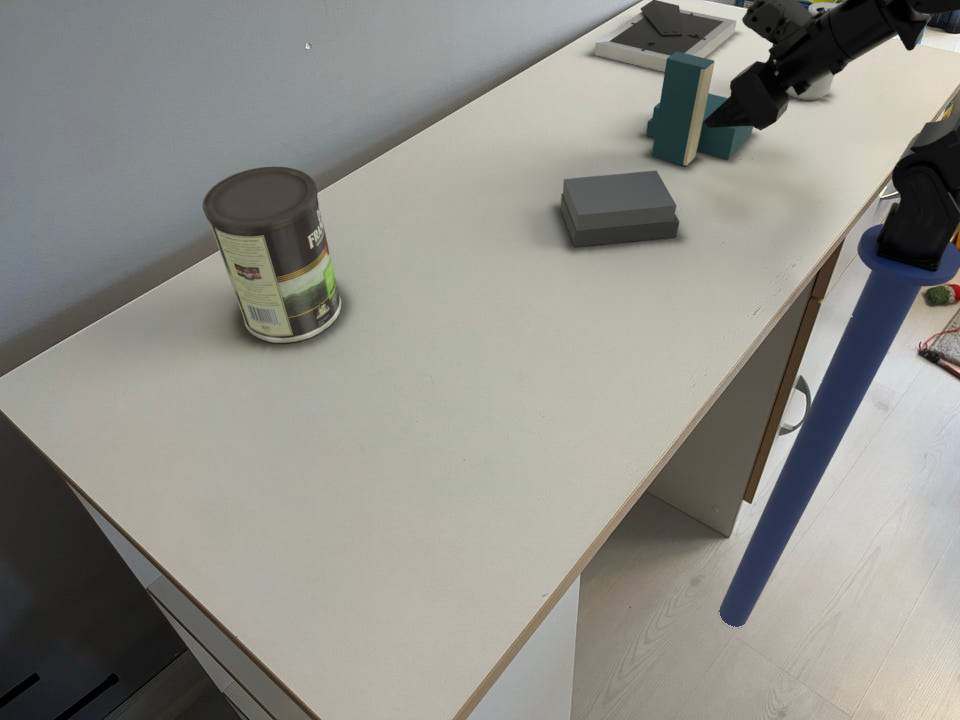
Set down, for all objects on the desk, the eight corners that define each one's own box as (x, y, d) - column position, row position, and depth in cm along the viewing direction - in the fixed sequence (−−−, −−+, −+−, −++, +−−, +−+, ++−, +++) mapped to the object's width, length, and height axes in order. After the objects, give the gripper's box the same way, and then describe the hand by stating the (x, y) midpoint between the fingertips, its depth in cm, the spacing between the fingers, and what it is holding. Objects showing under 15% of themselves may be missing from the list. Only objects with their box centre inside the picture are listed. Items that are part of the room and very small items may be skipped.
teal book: (695, 158, 95) (715, 60, 86) (686, 167, 93) (705, 68, 84) (660, 147, 97) (676, 50, 88) (651, 156, 96) (666, 58, 86)
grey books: (656, 199, 88) (661, 167, 85) (676, 237, 83) (683, 204, 79) (560, 208, 87) (562, 177, 84) (574, 247, 82) (576, 214, 79)
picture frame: (651, 15, 131) (594, 55, 119) (653, -1, 129) (596, 37, 117) (734, 33, 124) (682, 76, 112) (737, 16, 122) (685, 58, 110)
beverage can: (775, 85, 109) (798, 2, 101) (816, 82, 110) (842, -2, 101) (793, 103, 105) (818, 18, 96) (835, 100, 105) (864, 15, 97)
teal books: (751, 135, 99) (758, 104, 96) (728, 160, 94) (735, 129, 91) (670, 113, 104) (675, 83, 101) (645, 136, 99) (649, 106, 96)
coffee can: (340, 274, 80) (316, 160, 70) (342, 336, 72) (315, 219, 62) (246, 285, 79) (208, 171, 69) (239, 349, 71) (195, 232, 61)
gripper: (834, -59, 78) (717, 26, 91) (772, -8, 68) (650, 80, 80) (883, 29, 80) (763, 101, 93) (831, 92, 70) (703, 163, 82)
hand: (722, 109), depth 87 cm, fingers open, 9 cm apart
